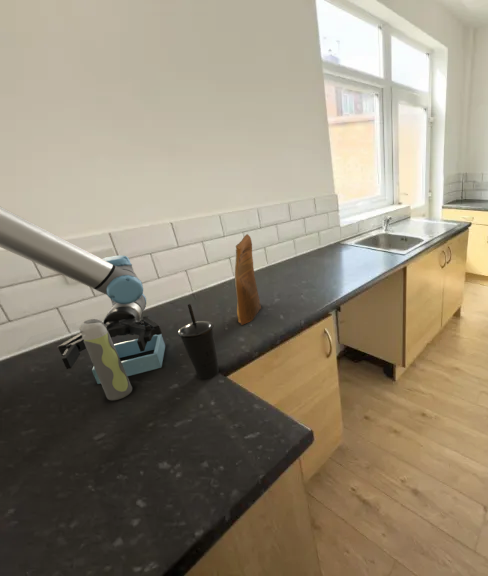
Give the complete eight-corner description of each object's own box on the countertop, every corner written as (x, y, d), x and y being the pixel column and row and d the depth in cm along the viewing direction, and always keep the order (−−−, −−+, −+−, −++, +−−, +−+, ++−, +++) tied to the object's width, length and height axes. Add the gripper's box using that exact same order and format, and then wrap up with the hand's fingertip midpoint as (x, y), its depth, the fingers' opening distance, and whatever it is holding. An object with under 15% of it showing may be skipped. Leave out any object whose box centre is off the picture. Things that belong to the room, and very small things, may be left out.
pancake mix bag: (269, 303, 124) (256, 232, 114) (253, 327, 106) (236, 245, 96) (251, 304, 124) (237, 233, 113) (232, 328, 106) (214, 246, 96)
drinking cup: (184, 381, 81) (162, 310, 73) (207, 363, 87) (188, 297, 80) (210, 385, 79) (189, 313, 71) (231, 367, 86) (214, 299, 78)
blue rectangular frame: (98, 384, 80) (91, 370, 79) (109, 359, 91) (103, 346, 89) (161, 368, 86) (156, 353, 85) (165, 346, 97) (161, 333, 95)
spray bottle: (102, 399, 75) (69, 324, 68) (123, 386, 79) (94, 314, 72) (117, 403, 74) (84, 327, 66) (137, 389, 78) (109, 317, 71)
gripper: (177, 319, 98) (172, 352, 80) (71, 341, 87) (39, 385, 69) (170, 297, 95) (163, 326, 77) (60, 317, 84) (23, 356, 67)
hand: (105, 354), depth 73 cm, fingers open, 13 cm apart
